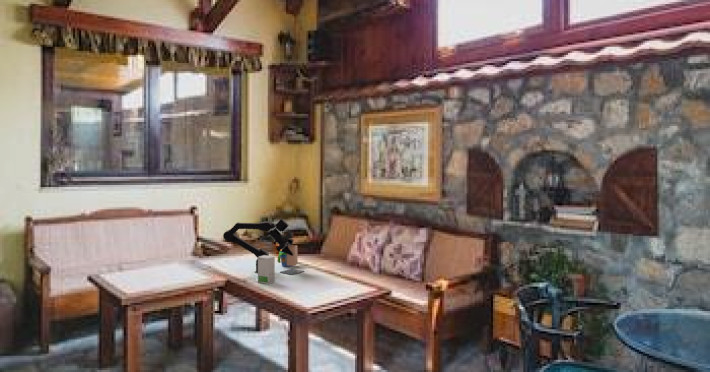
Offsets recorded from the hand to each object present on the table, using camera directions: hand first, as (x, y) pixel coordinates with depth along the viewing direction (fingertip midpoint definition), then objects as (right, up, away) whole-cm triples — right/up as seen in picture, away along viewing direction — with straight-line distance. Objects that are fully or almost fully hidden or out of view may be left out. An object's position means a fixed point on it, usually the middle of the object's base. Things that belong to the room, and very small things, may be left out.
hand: (294, 254), depth 337 cm
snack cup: (-7, -11, +20) cm, 24 cm away
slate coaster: (-2, -12, +2) cm, 12 cm away
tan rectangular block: (-1, -7, +1) cm, 7 cm away
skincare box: (-14, -14, -22) cm, 29 cm away
